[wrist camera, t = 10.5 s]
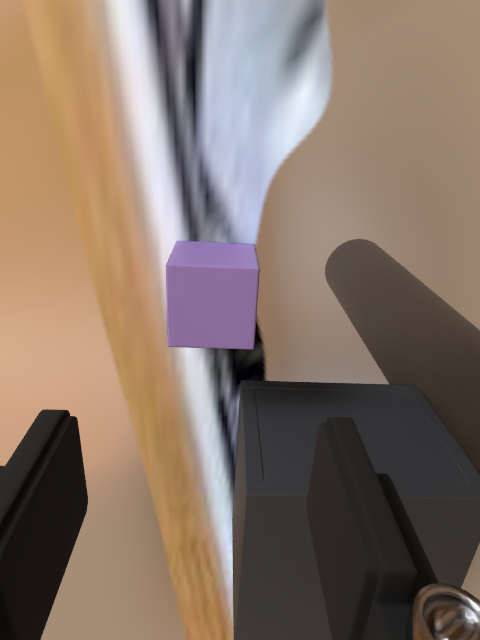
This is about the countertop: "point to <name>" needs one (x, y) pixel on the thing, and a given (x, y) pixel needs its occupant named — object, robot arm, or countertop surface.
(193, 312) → the lavender cube
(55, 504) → the robot arm
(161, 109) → the countertop surface
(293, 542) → the compartment
